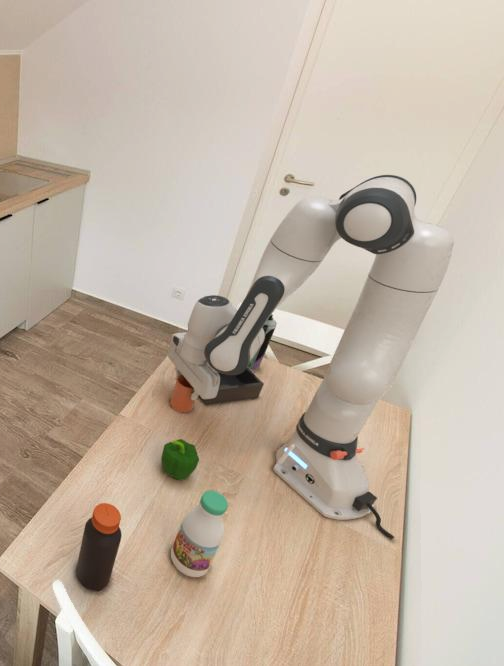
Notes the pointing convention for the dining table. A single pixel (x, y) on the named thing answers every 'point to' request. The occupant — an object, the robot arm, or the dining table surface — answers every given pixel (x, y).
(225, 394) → the dark open tray
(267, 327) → the spray can
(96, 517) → the vinegar
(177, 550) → the milk bottle
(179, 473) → the bell pepper
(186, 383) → the cup
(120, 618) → the dining table surface
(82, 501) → the dining table surface
